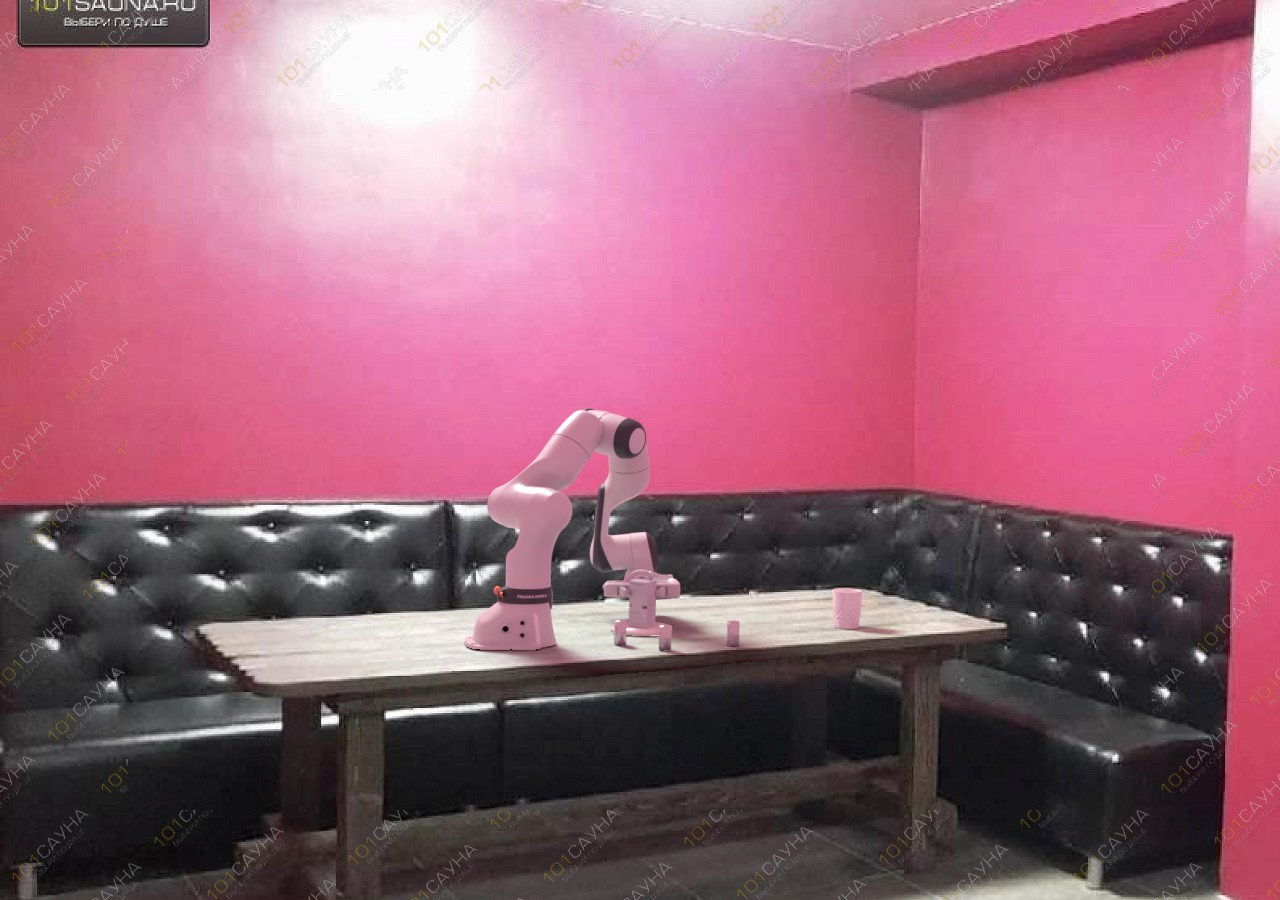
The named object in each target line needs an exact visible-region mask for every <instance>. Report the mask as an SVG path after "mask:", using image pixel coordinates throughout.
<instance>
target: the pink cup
mask: <svg viewBox="0 0 1280 900" xmlns="http://www.w3.org/2000/svg"><path fill="white" fill-rule="evenodd" d="M862 596H863V591H862V590H861V589H857V588H849V587H839V588H837V587H836V588H833V589H832V597H831V598H832V616H833V627H834V628H835V627H836V628H835V629H839V628H841V629H842V630H855V629H857V630H858V629H859V628H860V621H861V620H860V617H861V613H862V611H861V610H862V609H861V608H862V600H863V599H862ZM841 629H840V630H841Z"/></svg>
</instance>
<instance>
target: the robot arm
mask: <svg viewBox="0 0 1280 900" xmlns="http://www.w3.org/2000/svg"><path fill="white" fill-rule="evenodd" d="M594 452H595V453H598V454H599V455H601V456H602V455H603V456H607V457H608V476H607V478H606V479H605V481H604V482H602V483H601V484H600V485H599V488H598V490H597V497H596V505H595V512H594V524H593V534H592V541H591V544H590V548H589V559H590V563H591V566H592V567H593V568H594V569H595V570H597V571H599V572H600V573H602V574H605V573H609V572H615V571H620V570H626V572H625V573H624V574H625V575H624V577H623V579H622V580H621V579H620V580H618V579H617V580H616V579H615V580H614V579H613V580H606V581H605V583H604V584H603V585H602V590H603V596H604V597H606V598H629V596H630V594H629V593H630V580H634V579H638V578H640V579H648V580H653V581H657V584H656V601H657V600H659V601H660V600H668V599H673V598H674V599H678V598H680V597H681V583H680V581H678V580H677V578H674V576H673V574H669V573H661V572H657V569H658V568H659V565H660V561H659V560H660V559H659V558H660V557H659V551H658V546H657V542H656V540H655V538H654V537H653V536H652V535H651V534H650V533H649V532H647V531H643V532H630V533H624V534H615V535H612V534H611V535H610V534H609V528H610V527H609V526H610V518H611V513H612V512H613V510H614V509H615V508H616V507H618V506H620V505H621V504H624V503H625V502H627V501H630V500H632V499H634V498H636V497H638V496H639V495H641V494H643V492H644V491H645V490H646V489H647V487H648V486H649V483H650V481H651V461H650V454H649V448H648V444H647V433H646V430H645V427H644V426H643V424H642V423H641V422H639V421H637V420H636V419H634V418H631V417H625V416H623V415H619V414H616V413H614V412H611V411H605V410H597V409H594V408H582V409H579V410H577V411H574V412H573V413H571V414H570V415H569V417H567V418H566V419H565V420H563V422H562V424H560V426H559V427H557V429H556V431H554V433H553V434H552V435H551V437H550V438H549V440H548V441H547V443H546V444H545V445H544V446H543V448H542V450H541V451H540V453H538V455H537V457H536V458H535V459H534V460H533V461H532V462H531V463H530V464H529V465H527V466H526V468H524V469H523V470H522V471H521V472H519V473H518V474H517V475H516V476H514V477H512V479H511V480H509V481H508V482H506V483H505V484H502V485H501V486H498V487H496V488H494V489H493V490H492V491H491V493H490V494H489V496H488V499H487V503H486V506H487V508H486V509H487V513H488V515H489V517H490V519H491V520H493V521H494V522H495V523H497V524H499V525H501V526H503V527H505V528H507V529H508V528H509V529H514V530H519V533H518V537H517V541H516V543H515V546H513V548H511V549H510V550H509V551H508V552H507V554H506V557H505V585H504V586H502V587H500V586H498V585H497V586H495V587H494V588H493V593H494V594H495V595H496V598H497V601H496V603H494V604H493V605H492V606H490V607H489V608H487V610H485V611H483V613H481V614H480V615H479V616H477V618H476V620H475V623H474V628H473V635H469V636H466V637H465V638H464V642H463V643H465V644H464V645H465V647H466V648H468V647H469V649H471V648H472V650H475V649H480V650H479V651H537V650H536V649H538V650H540V649H543V648H548V647H551V646H554V645H556V644H557V639H556V637H555V632H554V626H553V620H552V619H553V618H552V607H553V605H554V604H553V602H554V601H553V597H554V595H553V586H552V585H551V583H552V582H551V581H552V578H551V577H552V576H551V575H552V574H551V572H552V558H553V552H554V548H555V544H556V542H557V539H558V537H559V535H560V534H561V532H562V531H563V530H564V529H566V527H567V526H568V525H569V524H570V521H571V519H572V516H573V505H572V502H571V500H570V498H569V496H567V494H565V493H563V492H561V491H564V490H566V489H567V488H569V487H570V486H572V485H573V484H574V483H575V481H576V480H577V479H578V477H579V475H580V474H581V472H582V471H583V470H584V468H585V466H586V465H587V463H588V462H589V461H590V459H591V458H592V456H593V454H594ZM547 646H548V647H547ZM542 647H543V648H542ZM510 649H512V650H510Z"/></svg>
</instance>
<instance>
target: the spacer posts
mask: <svg viewBox="0 0 1280 900" xmlns="http://www.w3.org/2000/svg"><path fill="white" fill-rule="evenodd" d="M627 622H628V621H627V620H626V619H614V622H613V624H614V633H613V645H614V644H615V645H614V646H616V645H625V646H627V636H626V626H627ZM667 624H668V623H665V624H662V625H659V636H658V651H659V650H671V651H672V633H671V626H672V625H671V624H668V625H667ZM740 624H741V622H740V620H727V623H726V625H727V626H726V627H727V628H726V629H727V630H726V631H727V632H726V633H727V635H726V639H727V640H726V646H727V645H728V646H727V647H730V646H738V647H740V627H741V625H740Z"/></svg>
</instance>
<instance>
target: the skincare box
mask: <svg viewBox="0 0 1280 900" xmlns="http://www.w3.org/2000/svg"><path fill="white" fill-rule="evenodd" d="M656 584H657V581H653V580H648V579H640V578H638V579H634V580H630V593H629V594H630V596H629V597H628V598H629V599H628V601H629V602H628V622H629V626H634V627H640V628H650V627H653V626H655V622H656V609H657V600H656Z"/></svg>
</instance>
